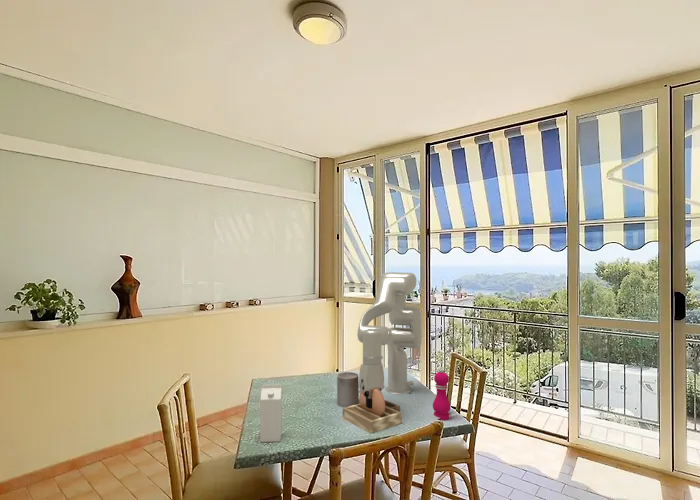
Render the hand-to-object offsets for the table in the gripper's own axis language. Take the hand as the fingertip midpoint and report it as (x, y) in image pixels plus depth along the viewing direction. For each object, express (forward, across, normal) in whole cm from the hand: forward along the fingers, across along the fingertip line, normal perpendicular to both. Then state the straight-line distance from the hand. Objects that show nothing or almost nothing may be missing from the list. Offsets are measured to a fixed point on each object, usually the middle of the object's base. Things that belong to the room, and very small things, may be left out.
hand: (371, 406), depth 159 cm
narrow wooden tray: (+7, -13, -8) cm, 16 cm away
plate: (+5, 0, 0) cm, 5 cm away
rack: (+6, 0, 0) cm, 6 cm away
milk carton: (+7, +38, -12) cm, 41 cm away
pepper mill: (+7, -27, +13) cm, 31 cm away
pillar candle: (+7, -4, -21) cm, 22 cm away
